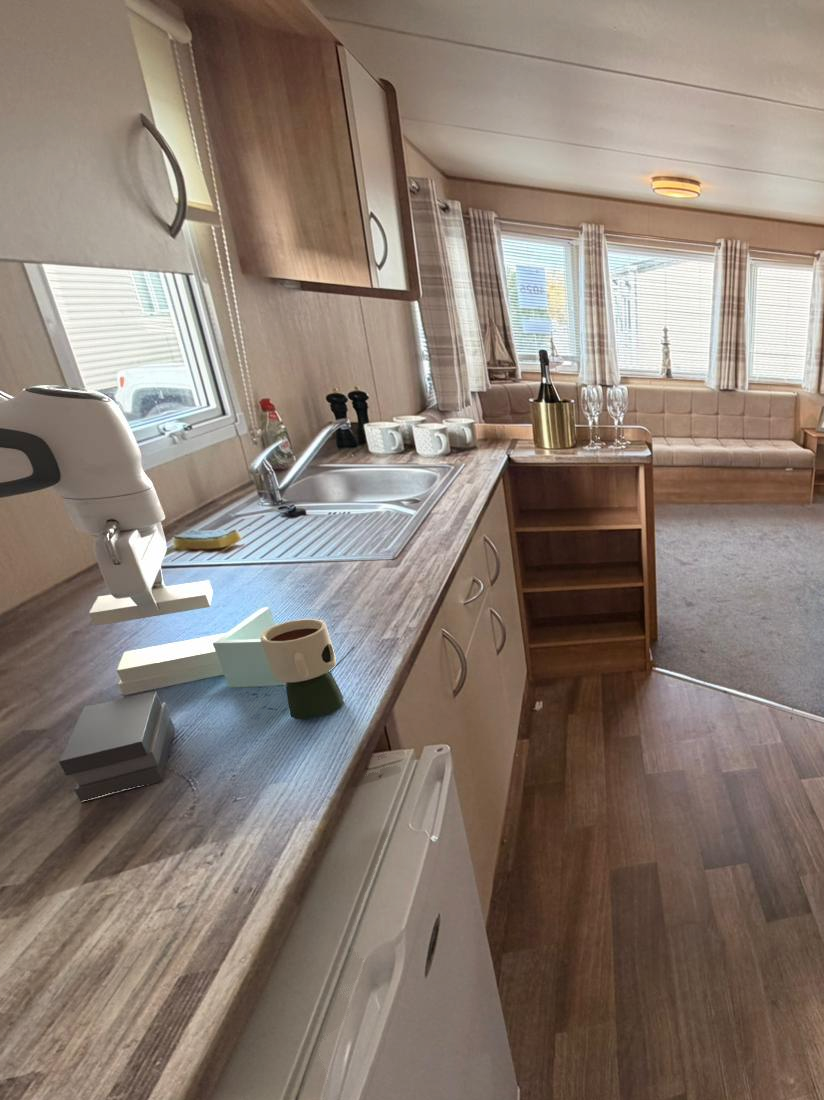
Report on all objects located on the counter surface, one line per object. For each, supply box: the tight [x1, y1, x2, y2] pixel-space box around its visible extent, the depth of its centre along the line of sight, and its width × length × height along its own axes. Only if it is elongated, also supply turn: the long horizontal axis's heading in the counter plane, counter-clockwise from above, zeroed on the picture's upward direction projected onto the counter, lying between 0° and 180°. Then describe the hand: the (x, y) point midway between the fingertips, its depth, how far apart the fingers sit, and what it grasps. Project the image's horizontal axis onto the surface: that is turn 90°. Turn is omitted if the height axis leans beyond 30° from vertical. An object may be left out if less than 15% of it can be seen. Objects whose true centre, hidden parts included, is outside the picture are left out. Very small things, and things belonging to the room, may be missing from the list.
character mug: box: [260, 618, 345, 720], centre depth 87 cm, size 11×7×13 cm, turn 37°
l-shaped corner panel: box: [212, 606, 286, 689], centre depth 99 cm, size 12×12×8 cm
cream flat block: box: [88, 579, 214, 627], centre depth 92 cm, size 12×6×2 cm, turn 127°
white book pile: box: [116, 632, 227, 696], centre depth 96 cm, size 12×7×4 cm, turn 127°
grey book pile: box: [58, 691, 176, 802], centre depth 77 cm, size 13×7×6 cm, turn 37°
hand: (155, 603), depth 92 cm, fingers closed on cream flat block, 6 cm apart
